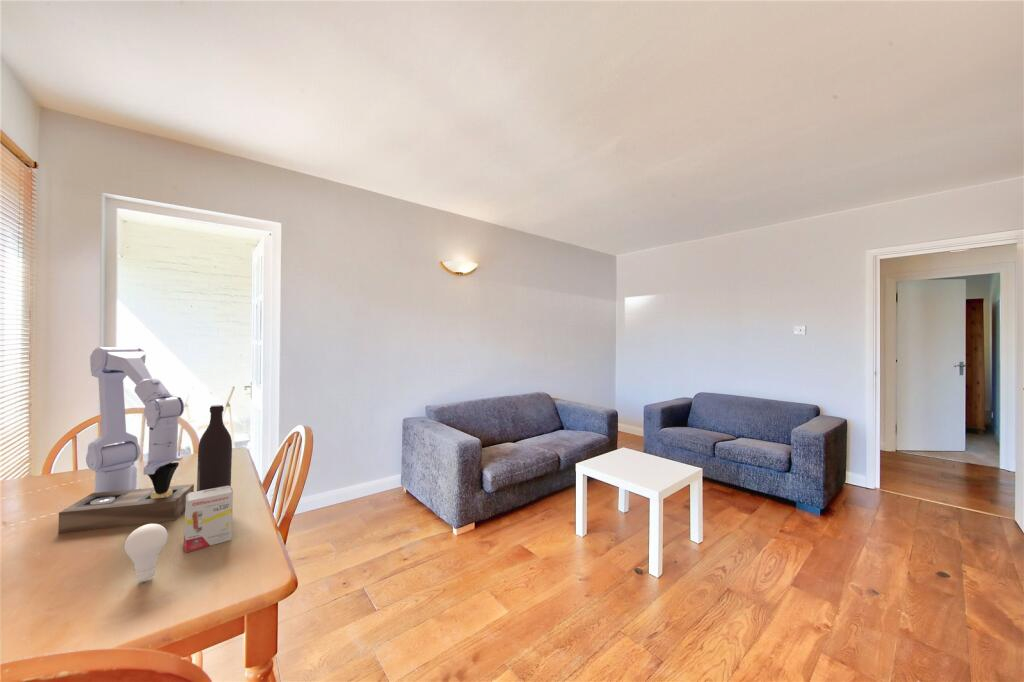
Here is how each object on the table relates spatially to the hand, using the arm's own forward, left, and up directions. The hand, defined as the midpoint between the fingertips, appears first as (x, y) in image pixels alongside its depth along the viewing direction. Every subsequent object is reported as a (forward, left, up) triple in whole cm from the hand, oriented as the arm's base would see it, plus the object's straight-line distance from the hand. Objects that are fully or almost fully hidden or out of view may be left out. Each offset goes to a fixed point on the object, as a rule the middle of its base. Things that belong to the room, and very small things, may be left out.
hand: (161, 492), depth 102 cm
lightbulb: (+34, +11, -6) cm, 36 cm away
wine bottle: (+8, +14, -6) cm, 17 cm away
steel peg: (0, -12, -6) cm, 13 cm away
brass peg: (0, 0, -5) cm, 5 cm away
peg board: (0, -6, -6) cm, 8 cm away
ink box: (+21, +17, -6) cm, 28 cm away
